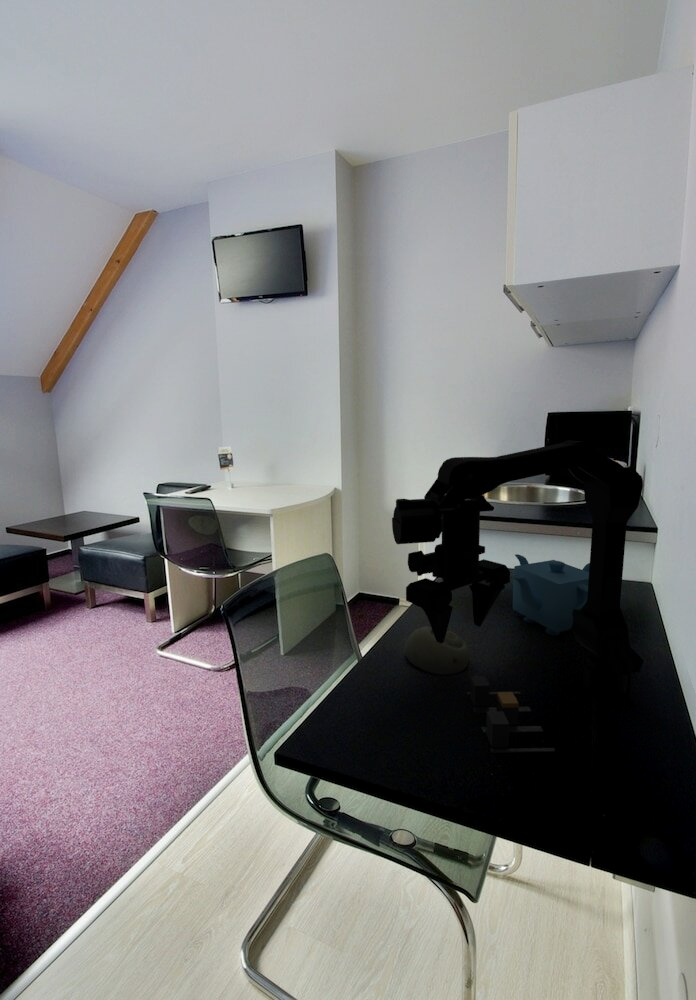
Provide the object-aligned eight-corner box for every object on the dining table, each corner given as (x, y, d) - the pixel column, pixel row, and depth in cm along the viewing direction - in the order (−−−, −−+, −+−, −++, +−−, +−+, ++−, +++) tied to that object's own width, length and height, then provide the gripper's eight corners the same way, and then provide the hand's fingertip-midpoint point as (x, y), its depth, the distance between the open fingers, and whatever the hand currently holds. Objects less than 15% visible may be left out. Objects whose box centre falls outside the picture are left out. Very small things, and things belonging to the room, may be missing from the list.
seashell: (472, 625, 97) (460, 640, 88) (474, 666, 97) (462, 685, 88) (410, 621, 103) (393, 634, 94) (412, 659, 103) (395, 676, 94)
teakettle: (600, 647, 103) (605, 579, 100) (505, 633, 110) (508, 569, 107) (594, 613, 120) (598, 554, 117) (512, 602, 127) (515, 547, 124)
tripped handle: (511, 713, 79) (512, 692, 78) (517, 725, 76) (518, 703, 75) (496, 713, 79) (497, 692, 78) (502, 725, 76) (502, 703, 75)
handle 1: (484, 695, 84) (484, 675, 83) (489, 706, 81) (489, 685, 80) (470, 696, 84) (470, 676, 83) (474, 706, 81) (474, 685, 80)
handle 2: (502, 733, 74) (503, 711, 73) (508, 747, 71) (509, 723, 70) (485, 734, 74) (486, 711, 73) (491, 747, 71) (492, 724, 70)
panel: (544, 696, 86) (544, 689, 85) (588, 761, 70) (589, 752, 70) (439, 698, 86) (439, 691, 85) (460, 763, 70) (460, 754, 70)
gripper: (459, 521, 89) (458, 604, 92) (380, 540, 78) (382, 633, 81) (513, 532, 80) (510, 623, 83) (433, 555, 69) (433, 659, 72)
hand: (459, 633), depth 80 cm, fingers open, 9 cm apart
